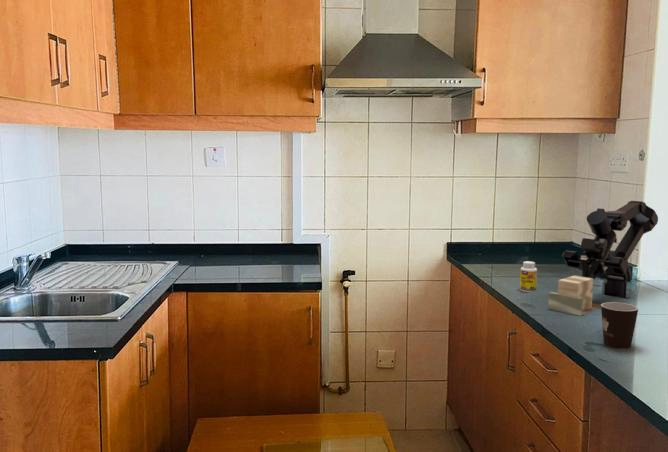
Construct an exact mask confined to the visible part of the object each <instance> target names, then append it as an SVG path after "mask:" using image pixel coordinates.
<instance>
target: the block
mask: <svg viewBox="0 0 668 452" xmlns="http://www.w3.org/2000/svg"><path fill="white" fill-rule="evenodd" d="M557 283H558V284H557V293H559V294H565V295H570V296H575V297H580V298H583V311H584V310H586V309H589V308H591V307H592V303H593V290H594V279H593V278H588V277H582V276H581V275H572V276H568V277H564V278H562V279H558V282H557Z"/></svg>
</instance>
